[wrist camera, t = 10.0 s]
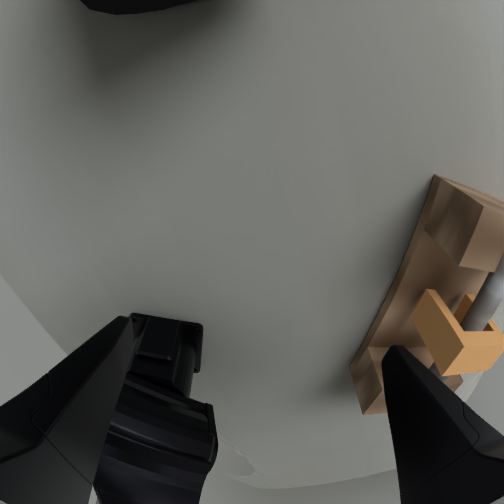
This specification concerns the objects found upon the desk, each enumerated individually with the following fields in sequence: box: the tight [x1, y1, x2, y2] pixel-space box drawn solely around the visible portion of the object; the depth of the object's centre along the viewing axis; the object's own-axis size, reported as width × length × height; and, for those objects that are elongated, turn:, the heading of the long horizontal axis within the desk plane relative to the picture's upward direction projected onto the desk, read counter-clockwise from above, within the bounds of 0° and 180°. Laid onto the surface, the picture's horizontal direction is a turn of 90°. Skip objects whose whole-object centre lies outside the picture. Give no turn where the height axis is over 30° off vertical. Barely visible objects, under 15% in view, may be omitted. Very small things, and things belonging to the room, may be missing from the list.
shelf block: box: [350, 174, 504, 415], centre depth 21 cm, size 20×10×7 cm, turn 171°
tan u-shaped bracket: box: [411, 289, 504, 376], centre depth 19 cm, size 6×3×6 cm, turn 80°
